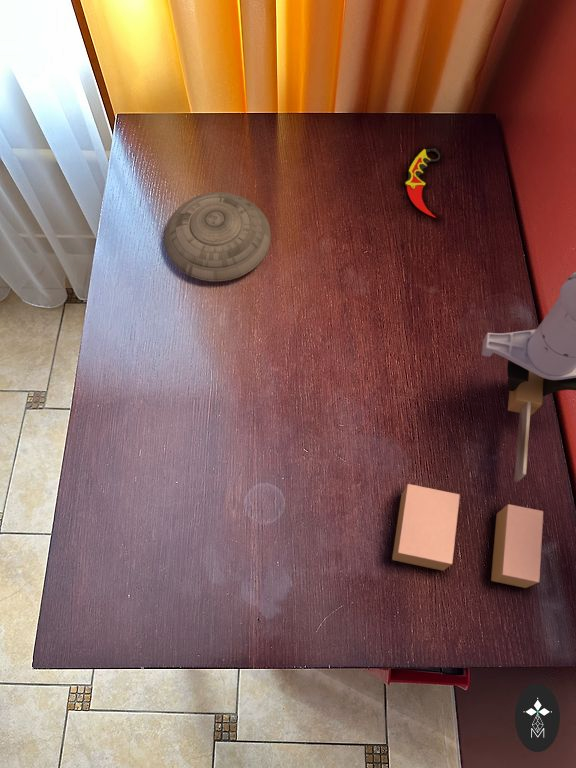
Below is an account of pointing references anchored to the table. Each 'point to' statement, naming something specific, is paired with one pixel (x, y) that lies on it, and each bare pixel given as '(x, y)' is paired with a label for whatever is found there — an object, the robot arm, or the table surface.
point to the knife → (415, 183)
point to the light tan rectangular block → (517, 546)
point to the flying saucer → (217, 236)
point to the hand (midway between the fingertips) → (525, 386)
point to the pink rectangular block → (426, 527)
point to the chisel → (525, 416)
